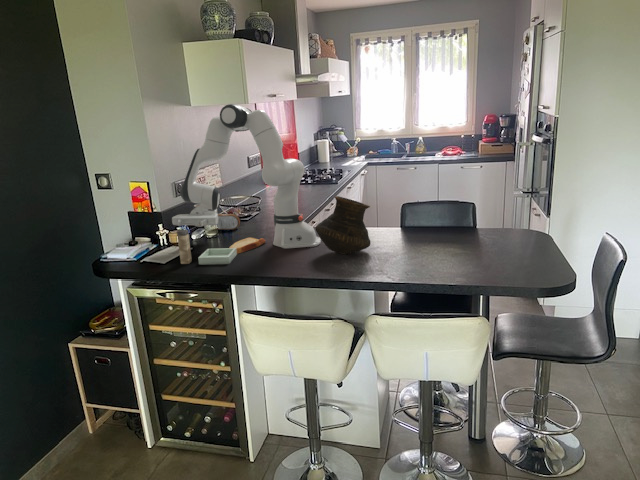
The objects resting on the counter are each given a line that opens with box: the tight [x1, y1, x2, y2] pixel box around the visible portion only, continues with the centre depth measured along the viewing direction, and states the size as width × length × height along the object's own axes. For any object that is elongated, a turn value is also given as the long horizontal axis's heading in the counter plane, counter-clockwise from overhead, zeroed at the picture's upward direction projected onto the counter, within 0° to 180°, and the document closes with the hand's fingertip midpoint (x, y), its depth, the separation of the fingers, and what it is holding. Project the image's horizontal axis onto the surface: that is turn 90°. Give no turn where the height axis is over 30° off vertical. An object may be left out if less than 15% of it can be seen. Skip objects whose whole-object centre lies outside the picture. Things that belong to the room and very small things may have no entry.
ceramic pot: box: [314, 195, 371, 256], centre depth 205 cm, size 24×23×25 cm
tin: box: [216, 213, 241, 231], centre depth 260 cm, size 15×3×8 cm, turn 84°
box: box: [197, 247, 238, 265], centre depth 208 cm, size 13×13×3 cm
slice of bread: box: [229, 237, 266, 255], centre depth 225 cm, size 18×18×4 cm
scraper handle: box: [176, 229, 193, 265], centre depth 204 cm, size 4×4×14 cm
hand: (189, 224), depth 212 cm, fingers open, 8 cm apart
